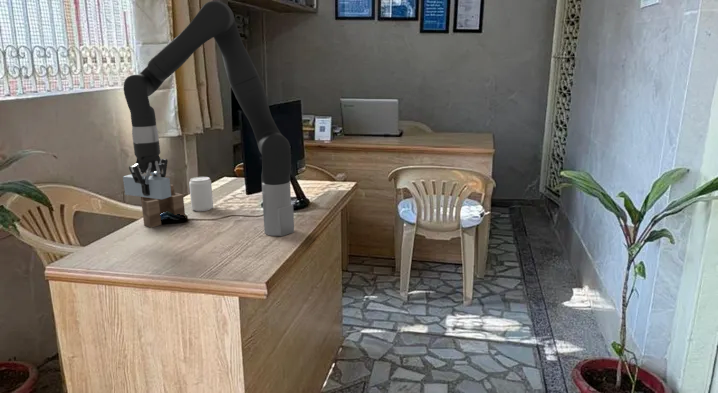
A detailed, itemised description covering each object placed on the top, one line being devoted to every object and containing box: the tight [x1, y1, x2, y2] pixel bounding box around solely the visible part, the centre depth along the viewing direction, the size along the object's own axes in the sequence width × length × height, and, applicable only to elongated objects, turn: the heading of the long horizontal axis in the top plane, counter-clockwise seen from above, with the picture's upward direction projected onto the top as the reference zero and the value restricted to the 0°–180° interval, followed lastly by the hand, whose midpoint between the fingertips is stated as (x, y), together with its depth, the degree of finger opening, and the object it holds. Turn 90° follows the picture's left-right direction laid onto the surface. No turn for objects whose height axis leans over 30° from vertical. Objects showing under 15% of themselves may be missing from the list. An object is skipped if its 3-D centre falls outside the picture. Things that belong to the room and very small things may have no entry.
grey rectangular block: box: [122, 173, 171, 199], centre depth 169 cm, size 16×4×6 cm, turn 64°
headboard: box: [140, 184, 186, 228], centre depth 189 cm, size 6×14×12 cm, turn 140°
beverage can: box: [188, 176, 214, 212], centre depth 204 cm, size 8×8×12 cm
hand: (152, 193), depth 169 cm, fingers closed on grey rectangular block, 4 cm apart
